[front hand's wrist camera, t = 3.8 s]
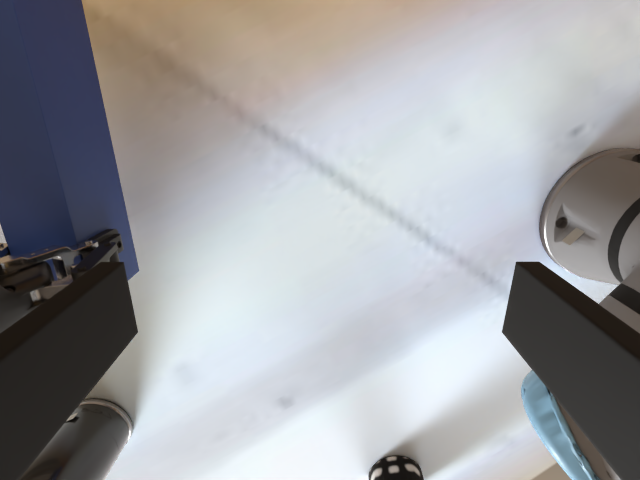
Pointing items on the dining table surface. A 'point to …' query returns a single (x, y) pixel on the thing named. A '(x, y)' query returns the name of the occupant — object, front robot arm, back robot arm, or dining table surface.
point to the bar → (55, 134)
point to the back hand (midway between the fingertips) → (82, 240)
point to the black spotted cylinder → (396, 469)
